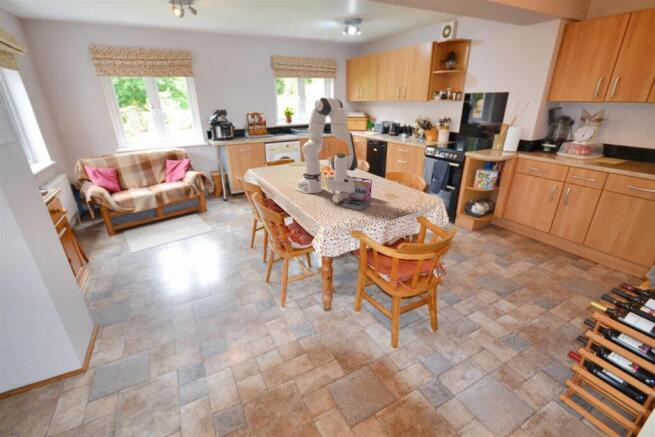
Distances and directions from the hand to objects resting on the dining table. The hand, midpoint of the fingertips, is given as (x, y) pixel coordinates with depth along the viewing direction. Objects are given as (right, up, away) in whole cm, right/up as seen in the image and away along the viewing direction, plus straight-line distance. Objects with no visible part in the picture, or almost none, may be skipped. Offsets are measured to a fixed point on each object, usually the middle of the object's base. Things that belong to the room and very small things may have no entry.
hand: (340, 196), depth 209 cm
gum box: (+12, +1, +14) cm, 18 cm away
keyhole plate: (+11, -7, -5) cm, 14 cm away
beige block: (-1, -4, +1) cm, 4 cm away
